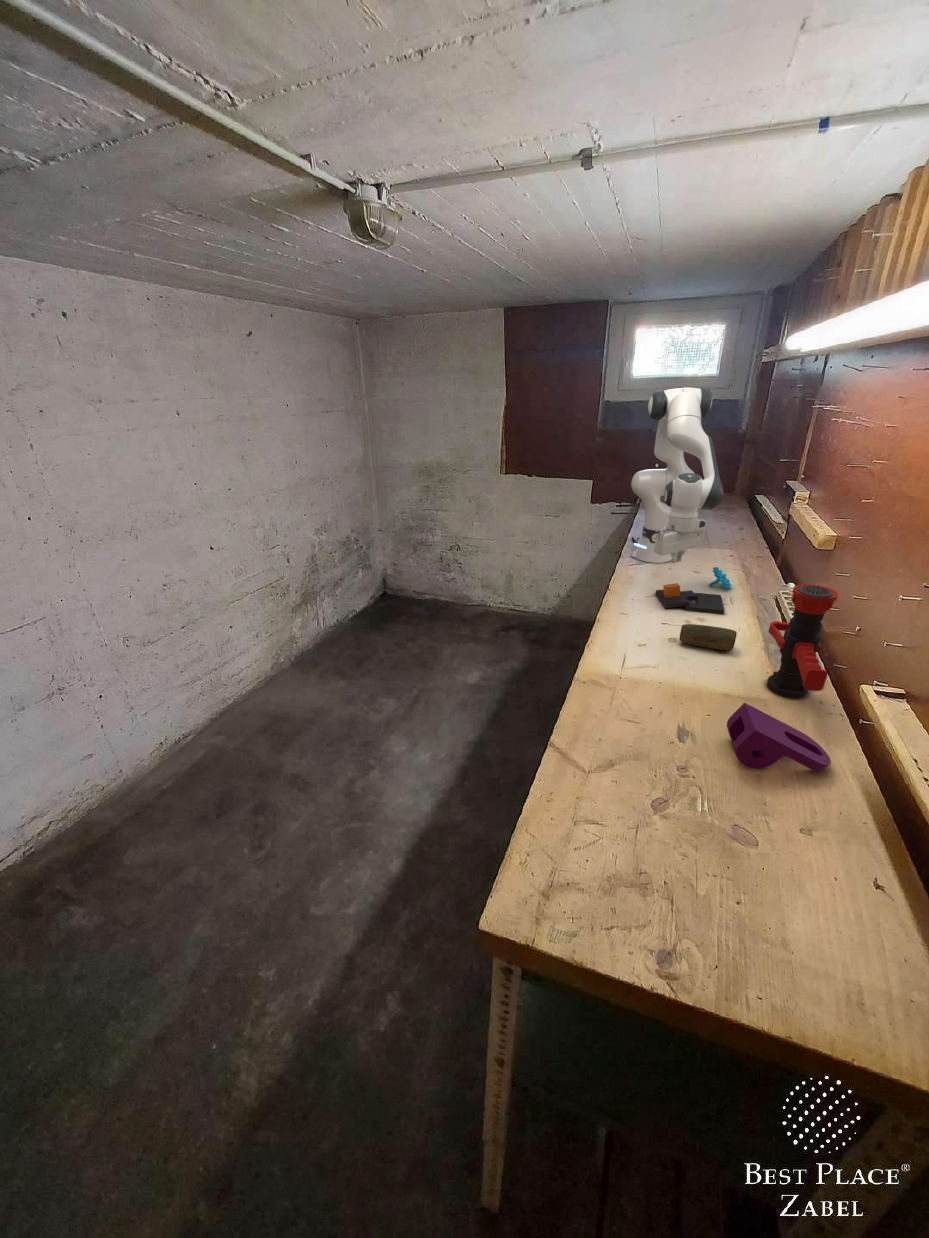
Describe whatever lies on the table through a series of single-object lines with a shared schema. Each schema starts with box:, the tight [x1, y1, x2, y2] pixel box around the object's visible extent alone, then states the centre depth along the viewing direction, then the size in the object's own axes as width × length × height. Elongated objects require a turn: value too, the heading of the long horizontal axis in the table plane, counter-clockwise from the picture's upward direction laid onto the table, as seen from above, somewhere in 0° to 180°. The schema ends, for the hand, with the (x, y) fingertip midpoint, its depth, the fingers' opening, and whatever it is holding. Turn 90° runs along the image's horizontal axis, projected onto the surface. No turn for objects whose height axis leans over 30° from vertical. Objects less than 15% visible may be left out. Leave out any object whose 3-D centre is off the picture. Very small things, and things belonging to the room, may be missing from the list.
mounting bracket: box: [726, 702, 832, 772], centre depth 102 cm, size 9×8×18 cm
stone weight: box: [678, 623, 738, 651], centre depth 144 cm, size 15×7×7 cm, turn 65°
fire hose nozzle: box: [766, 583, 839, 699], centre depth 117 cm, size 10×28×25 cm
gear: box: [709, 566, 732, 590], centre depth 185 cm, size 11×6×10 cm
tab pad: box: [655, 582, 697, 609], centre depth 174 cm, size 14×12×6 cm
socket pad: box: [684, 592, 725, 615], centre depth 172 cm, size 14×12×2 cm
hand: (676, 562), depth 170 cm, fingers closed
